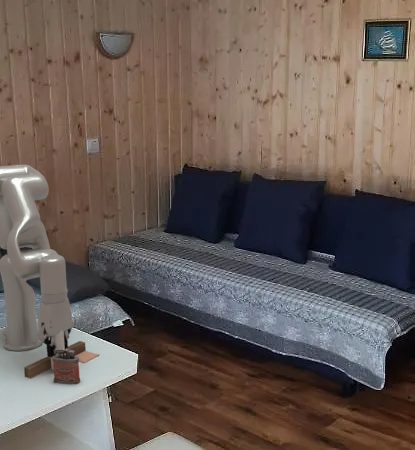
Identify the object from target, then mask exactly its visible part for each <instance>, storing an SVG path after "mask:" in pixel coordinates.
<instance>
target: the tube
mask: <svg viewBox="0 0 415 450" xmlns="http://www.w3.org/2000/svg"><path fill="white" fill-rule="evenodd" d="M49 340H50V337H49ZM54 345H55V346H56V349H63V350H65V345H64V331H62V330H61V331H60V333H59V334H57V335H55V337H54ZM56 355H59V354H56ZM61 355H62V354H61ZM51 370H54V368H53V360H52V357H51Z"/></svg>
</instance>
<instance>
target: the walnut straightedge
mask: <svg viewBox="0 0 415 450" xmlns="http://www.w3.org/2000/svg"><path fill="white" fill-rule="evenodd" d="M86 348H87V347H86V342H84V341H82V340H78V341H76V342H73V343H72V344H70V345H68V349H69V350H74V351H75V354H74V356H76V355H78V354H80V353H82V352H84V351H87V350H86ZM50 369H51V370H52V368H51V357H48V356H47V355H46V356H45V357H43V358H41V359H38V360H36V361H35V362H31V363H30V364H28V365H26V366H24V367H23V370H24V377H25V378H27V379H33V378H35V377H36V376H38V375H40V374H43V373H44V372H47V371H48V370H50Z"/></svg>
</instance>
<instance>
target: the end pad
mask: <svg viewBox="0 0 415 450" xmlns="http://www.w3.org/2000/svg"><path fill="white" fill-rule="evenodd" d="M76 356H77V357H79V363H84V364H86V363H88V362H90V361H91V360H93V359H95V358H97V357H99V356H100V354H99V353H95V352H91V351H87V350H86V351H84V352H82V353H80V354H78V355H76Z"/></svg>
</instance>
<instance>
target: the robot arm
mask: <svg viewBox="0 0 415 450" xmlns="http://www.w3.org/2000/svg"><path fill="white" fill-rule="evenodd" d="M49 191H50V188H49V183H48V182H47V179H46V177H45V176H44V175H43V174H42V173H41V172H40V171H38V170H37V169H35V168H34V167H32V166H31V165H29V164H11V165H1V166H0V248H1V249H3V250H6V254H4V255H3V256H2V257H1V258H0V277H1V280H2V287H3V293H4V294H3V295H4V303H5V317H6V318H5V319H6V327H5V328H4V330H2V331H1V335H3V336H5V337H6V339H5V340H4V341H3V348H5V349H6V350H9V351H15V352H17V351H18V352H19V351H20V352H21V351H28V350H33V349H35V348H38V347H39V346H41V345H42V344H43V343H44V345H46V357H47V356H48V357H53V356H55V355H56V354H54V350H55V349H56V346H55V345H54V337H55V335H57V334H59V333H60V331H61V330H62V331H64V345H65V349H66V348H68V346H69V344H68V343H69V342H68V340H69V338H70V334H71V332H72V329H73V328H74V326H75V323H74V322H73V320H72V319H73V318H72V316H73V315H72V309H71V302H70V301H69V300H70V299H69V298H68V293H69V289H68V287H67V285H68V284H67V272H66V271H67V270H66V267H67V266H66V259H65V258H64V256H62V255H60V254H59V253H58V252H57V251H56V250H54V249H51V245H50V241H49V238H48V234H47V230H46V227H45V225H44V224H43V222H42V220H41V215H40V213H39V209H38V207H37V204H36V202H35V201H38V200H39V201H40V200H45V199H46V198H47V197H48V196H49ZM27 247H31V249H27V250H21V248H27ZM35 278H39V281H40V284H39V285H40V296H41V302H40V303H39V305H38V313H37V310H36V308H37V307H36V298H35V297H36V296H35V291H34V289H33V287H31V285H30V284H29V283H27V281H28V280H32V279H35ZM37 314H38V315H37ZM49 337H50V339H49Z"/></svg>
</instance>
